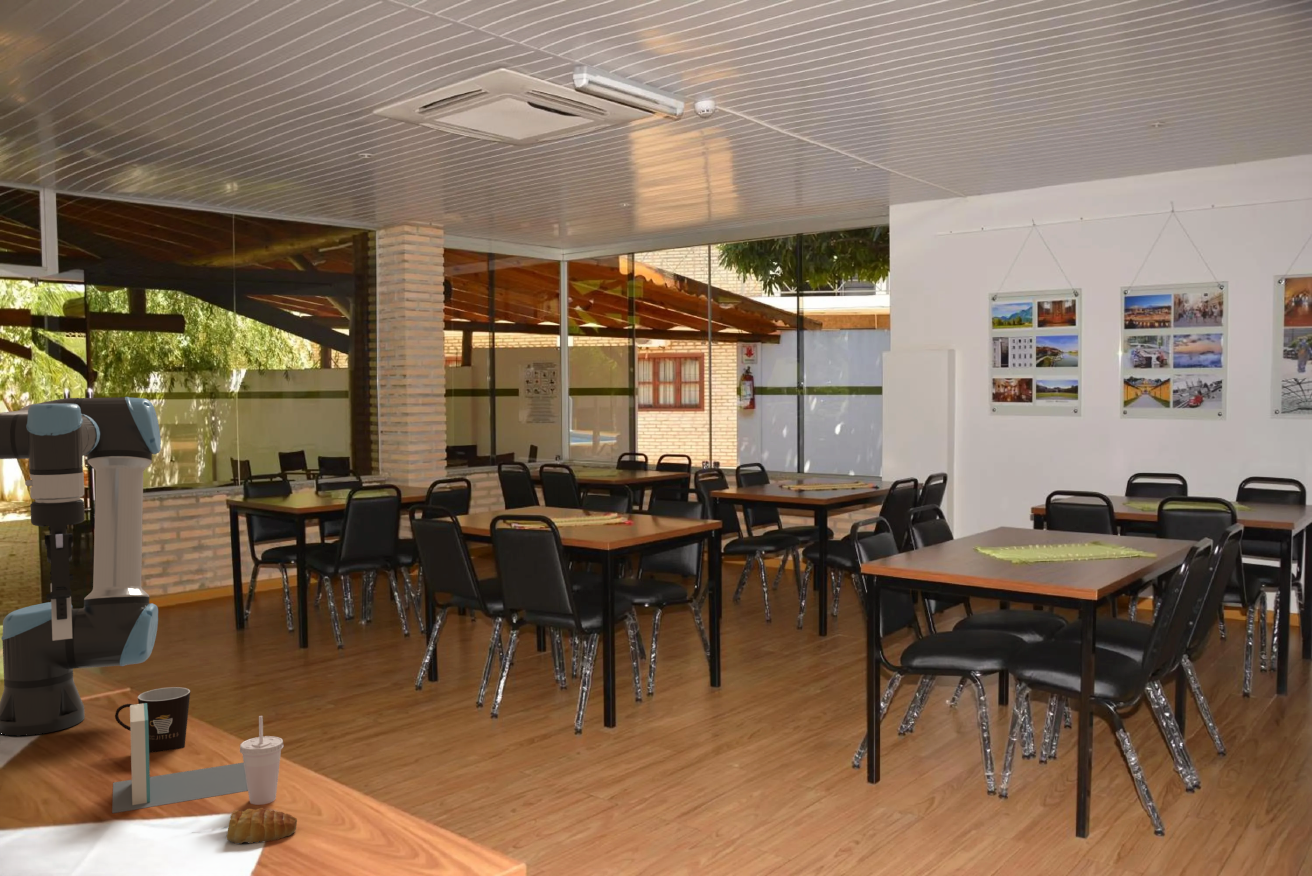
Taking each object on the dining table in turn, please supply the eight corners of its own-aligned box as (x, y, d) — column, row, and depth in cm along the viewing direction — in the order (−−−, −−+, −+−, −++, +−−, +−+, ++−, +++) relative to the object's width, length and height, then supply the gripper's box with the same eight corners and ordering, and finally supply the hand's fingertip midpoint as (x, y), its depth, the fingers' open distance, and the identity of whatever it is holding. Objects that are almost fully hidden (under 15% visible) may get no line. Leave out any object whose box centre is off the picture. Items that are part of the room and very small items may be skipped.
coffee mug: (200, 741, 192) (199, 687, 192) (174, 757, 184) (173, 701, 183) (141, 739, 194) (140, 686, 193) (112, 755, 185) (111, 700, 185)
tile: (132, 783, 170) (129, 705, 169) (149, 781, 171) (147, 703, 170) (132, 805, 161) (130, 722, 160) (150, 802, 162) (148, 720, 161)
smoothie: (238, 813, 159) (236, 723, 158) (243, 797, 165) (241, 711, 165) (282, 809, 161) (281, 719, 160) (286, 793, 167) (284, 707, 166)
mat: (113, 786, 170) (113, 782, 170) (243, 765, 179) (243, 762, 179) (112, 817, 158) (112, 813, 158) (252, 793, 167) (252, 789, 167)
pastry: (299, 823, 156) (299, 798, 156) (293, 843, 149) (292, 817, 149) (233, 829, 154) (232, 803, 154) (223, 849, 147) (223, 822, 147)
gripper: (31, 493, 176) (35, 617, 177) (29, 509, 154) (34, 650, 156) (81, 490, 180) (85, 611, 181) (86, 506, 158) (91, 644, 159)
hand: (61, 630), depth 168 cm, fingers open, 13 cm apart
